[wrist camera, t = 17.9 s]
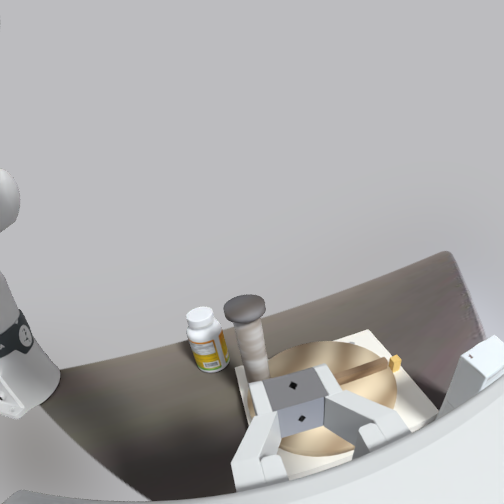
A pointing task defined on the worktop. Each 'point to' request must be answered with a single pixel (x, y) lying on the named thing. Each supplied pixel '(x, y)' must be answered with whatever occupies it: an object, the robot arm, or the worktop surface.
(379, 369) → the dial
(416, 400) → the dial stand
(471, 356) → the skincare box
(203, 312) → the supplement bottle
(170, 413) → the worktop surface
